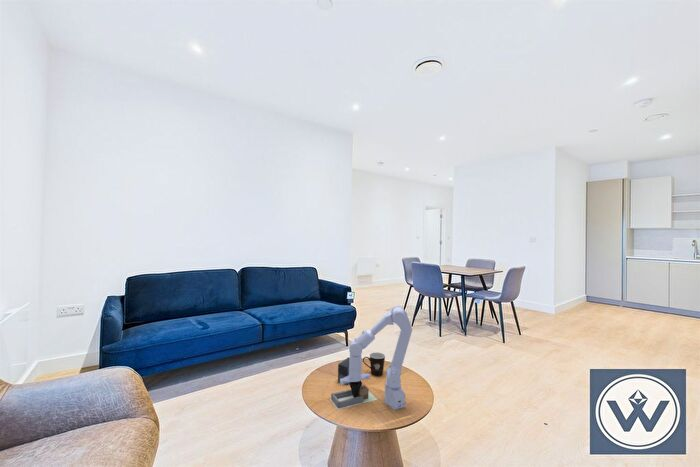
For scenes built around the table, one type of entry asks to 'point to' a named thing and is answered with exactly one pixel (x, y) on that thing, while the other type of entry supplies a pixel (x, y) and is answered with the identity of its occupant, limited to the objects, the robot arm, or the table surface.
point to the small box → (343, 370)
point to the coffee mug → (376, 363)
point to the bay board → (348, 399)
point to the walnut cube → (363, 392)
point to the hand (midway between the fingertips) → (354, 396)
